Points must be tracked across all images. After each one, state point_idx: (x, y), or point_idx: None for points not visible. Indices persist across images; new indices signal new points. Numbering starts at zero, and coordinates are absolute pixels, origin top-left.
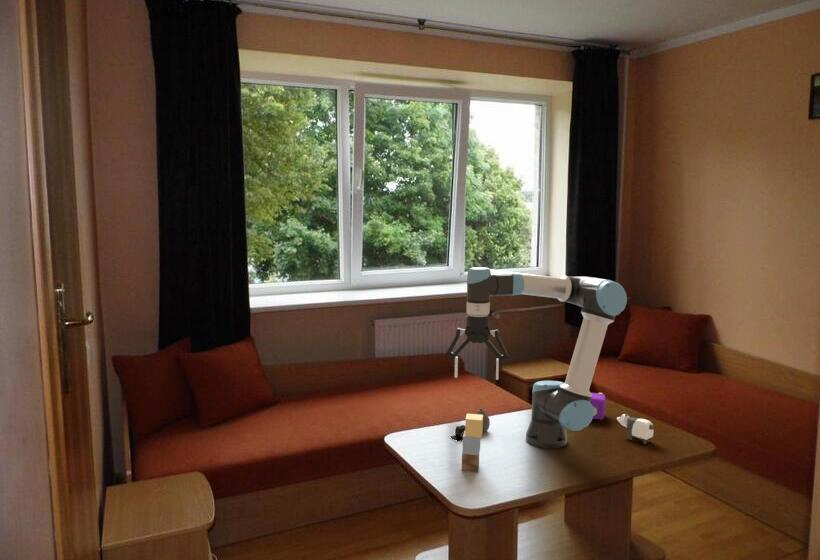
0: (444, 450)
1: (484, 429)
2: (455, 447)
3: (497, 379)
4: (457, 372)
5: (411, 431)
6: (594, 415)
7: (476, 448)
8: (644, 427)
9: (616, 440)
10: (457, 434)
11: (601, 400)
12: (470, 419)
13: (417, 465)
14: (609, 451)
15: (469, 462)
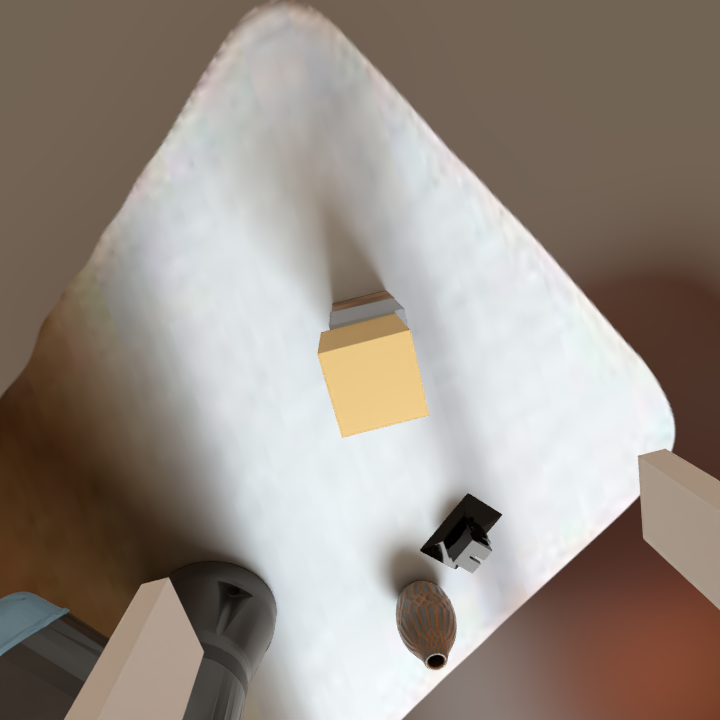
0: (483, 414)
1: (405, 591)
2: (457, 451)
3: (147, 586)
4: (676, 557)
5: (622, 502)
6: None
7: (340, 314)
8: None
9: None
10: (476, 527)
11: None
12: (382, 336)
13: (534, 264)
14: None
15: (363, 301)
